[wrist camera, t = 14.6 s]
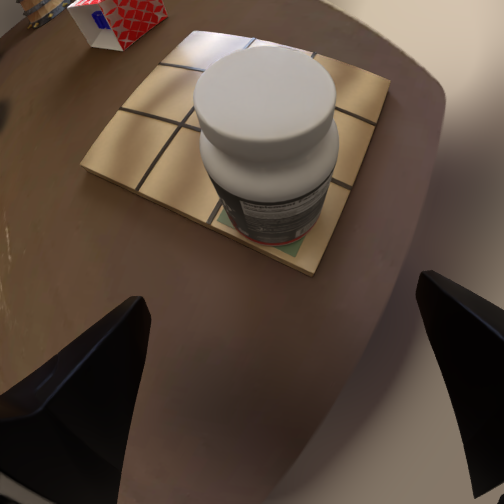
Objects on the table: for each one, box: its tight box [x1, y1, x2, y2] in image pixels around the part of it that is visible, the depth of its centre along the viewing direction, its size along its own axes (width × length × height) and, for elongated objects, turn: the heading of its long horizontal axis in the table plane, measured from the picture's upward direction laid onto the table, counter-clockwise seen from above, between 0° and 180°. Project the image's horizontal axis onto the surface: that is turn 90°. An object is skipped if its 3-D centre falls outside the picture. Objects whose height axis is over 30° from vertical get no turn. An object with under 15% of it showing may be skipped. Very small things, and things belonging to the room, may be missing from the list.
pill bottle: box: [193, 46, 339, 246], centre depth 13 cm, size 6×6×10 cm
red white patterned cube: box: [67, 0, 168, 51], centre depth 24 cm, size 8×8×8 cm
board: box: [80, 31, 391, 277], centre depth 21 cm, size 20×18×1 cm
